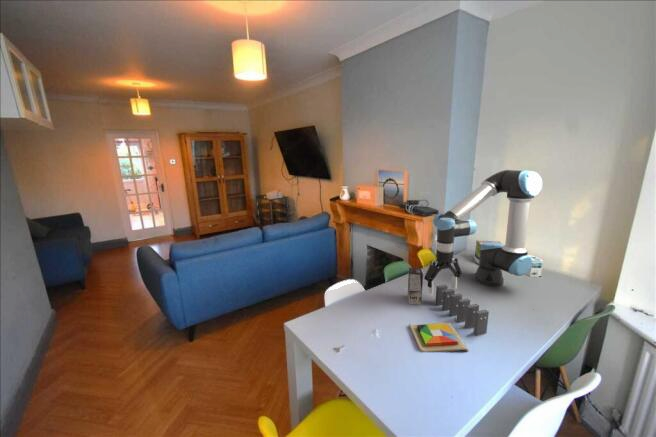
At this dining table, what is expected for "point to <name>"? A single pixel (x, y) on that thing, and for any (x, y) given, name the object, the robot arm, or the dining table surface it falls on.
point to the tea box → (478, 247)
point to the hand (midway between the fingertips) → (442, 290)
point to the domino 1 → (440, 294)
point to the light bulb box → (535, 267)
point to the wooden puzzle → (437, 337)
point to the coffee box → (415, 285)
